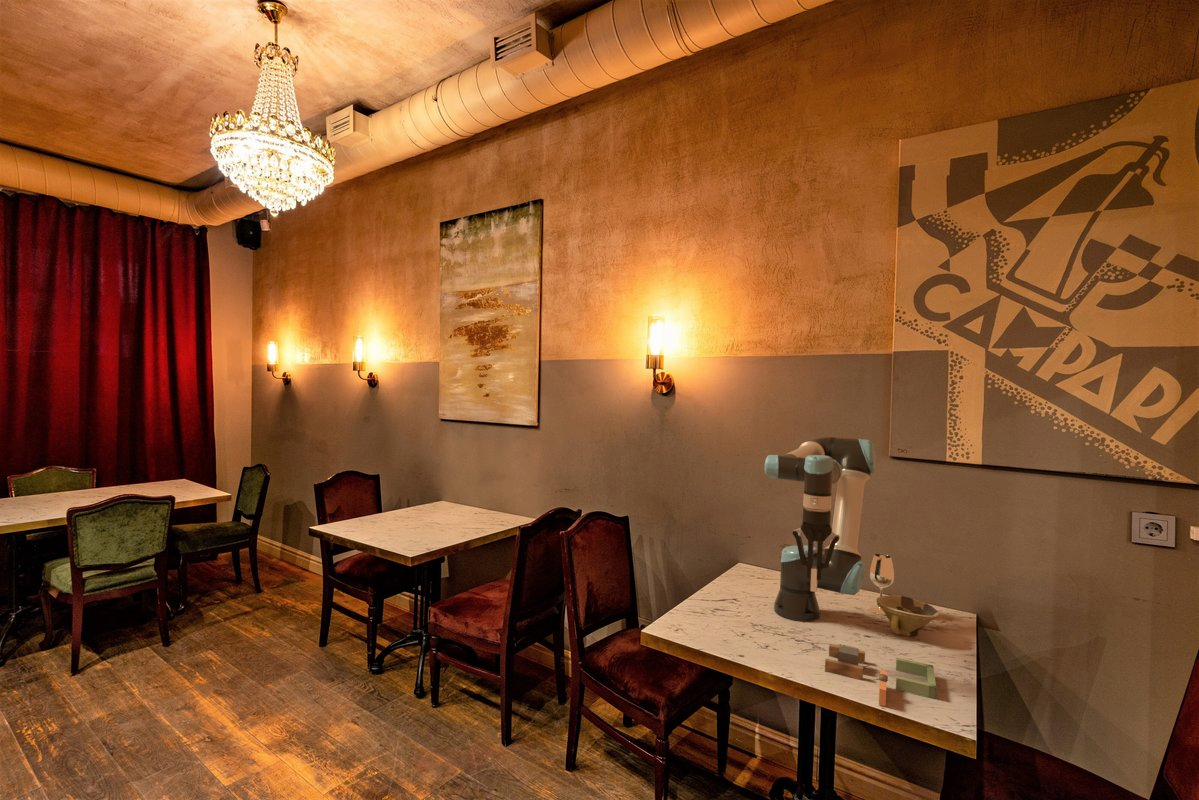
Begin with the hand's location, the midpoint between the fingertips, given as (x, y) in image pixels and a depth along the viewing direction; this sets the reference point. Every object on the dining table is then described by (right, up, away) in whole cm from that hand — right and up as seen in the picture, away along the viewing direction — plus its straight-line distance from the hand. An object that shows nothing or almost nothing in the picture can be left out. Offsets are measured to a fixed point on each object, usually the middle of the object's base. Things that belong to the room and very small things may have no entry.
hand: (813, 590), depth 165 cm
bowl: (+38, -21, +21) cm, 48 cm away
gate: (+10, -21, -19) cm, 30 cm away
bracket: (+23, -21, -12) cm, 33 cm away
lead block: (+8, -21, -4) cm, 23 cm away
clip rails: (+7, -20, -4) cm, 22 cm away
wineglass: (+38, -21, +39) cm, 58 cm away
